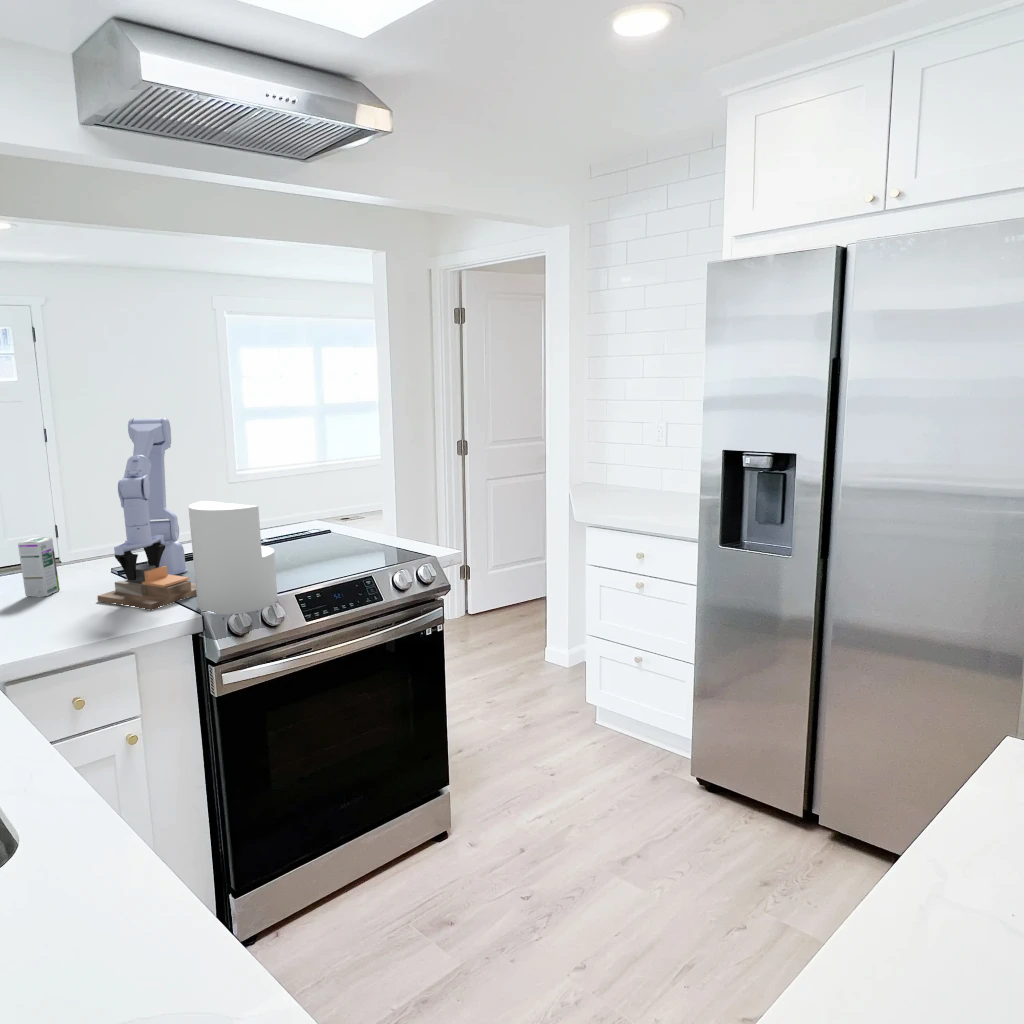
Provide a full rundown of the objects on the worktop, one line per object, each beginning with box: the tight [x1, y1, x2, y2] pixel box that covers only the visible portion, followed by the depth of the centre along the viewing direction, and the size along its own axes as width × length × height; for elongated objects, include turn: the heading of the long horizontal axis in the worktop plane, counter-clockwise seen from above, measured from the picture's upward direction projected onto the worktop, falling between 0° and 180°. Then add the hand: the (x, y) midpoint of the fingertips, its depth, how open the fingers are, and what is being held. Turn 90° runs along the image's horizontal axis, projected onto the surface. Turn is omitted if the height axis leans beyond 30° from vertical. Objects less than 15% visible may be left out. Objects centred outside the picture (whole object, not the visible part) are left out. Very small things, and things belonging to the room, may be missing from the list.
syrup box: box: [17, 537, 60, 597], centre depth 202 cm, size 6×6×14 cm
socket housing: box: [97, 578, 197, 611], centre depth 200 cm, size 18×19×4 cm
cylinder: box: [188, 500, 278, 615], centre depth 191 cm, size 19×19×25 cm
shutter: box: [142, 566, 190, 588], centre depth 197 cm, size 8×8×3 cm
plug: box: [129, 564, 156, 584], centre depth 201 cm, size 4×7×6 cm
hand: (143, 576), depth 201 cm, fingers open, 7 cm apart
